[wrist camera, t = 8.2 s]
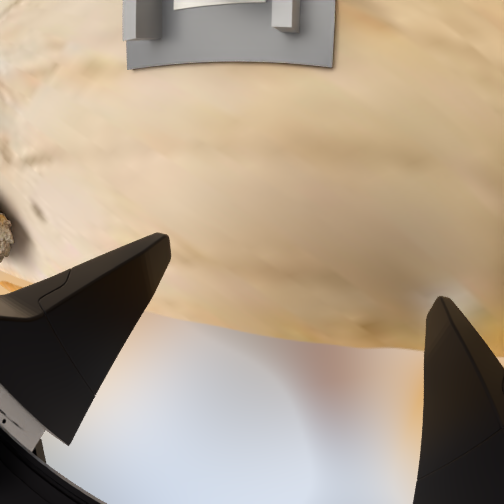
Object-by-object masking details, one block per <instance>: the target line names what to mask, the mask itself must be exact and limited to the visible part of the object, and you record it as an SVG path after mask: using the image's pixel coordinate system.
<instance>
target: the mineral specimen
mask: <svg viewBox="0 0 504 504" xmlns="http://www.w3.org/2000/svg"><path fill="white" fill-rule="evenodd" d="M11 226H12V225H11V222H10V221H9V220H7V219H6V216H5V214H3V213H1V212H0V263H1V262H2V260H3V258H4V256H5V257H7V256H8V255H9V250H10V244H13V243H14V240H13V235H12V233H11V228H10V227H11Z"/></svg>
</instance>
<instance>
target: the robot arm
mask: <svg viewBox="0 0 504 504" xmlns="http://www.w3.org/2000/svg"><path fill="white" fill-rule="evenodd" d="M170 259H171V249H170V240H169V236H168V235H167V234H163V233H154V234H152V235H149V236H147V237H144V238H142V239H139V240H137V241H134V242H132V243H129V244H127V245H124V246H122V247H120V248H117V249H115V250H112V251H110V252H108V253H105V254H103V255H101V256H98V257H96V258H94V259H91V260H89V261H87V262H84V263H82V264H80V265H77V266H75V267H73V268H72V269H68V270H66V271H64V272H62V273H59V274H57V275H55V276H52V277H50V278H47V279H45V280H42V281H40V282H37V283H35V284H32V285H29V286H27V287H24V288H21V289H19V290H16V291H14V292H11V293H9V294H5V295H0V504H107V503H105V502H103V501H101V500H100V499H98V498H96V497H95V496H93V495H91V494H90V493H88V492H86V491H85V490H83V489H82V488H80V487H79V486H77V485H76V484H74V483H73V482H71V481H70V480H68V479H67V478H65V477H64V476H62V475H61V474H60V473H58V472H57V471H55V470H54V469H53V468H51V467H50V466H49V465H47V464H46V460H45V455H44V451H43V445H42V440H41V439H40V438H41V436H42V435H43V433H44V432H45V430H47V431H48V432H49V433H51V434H52V435H53V436H55V437H56V438H58V439H59V440H60V441H62V442H63V443H65V444H66V445H68V446H69V445H70V443H71V442H72V440H73V438H74V436H75V433H76V432H77V430H78V428H79V426H80V424H81V422H82V420H83V418H84V416H85V414H86V412H87V411H88V409H89V407H90V405H91V403H92V401H93V399H94V398H95V395H96V393H97V392H98V390H99V388H100V386H101V384H102V382H103V381H104V379H105V377H106V375H107V373H108V372H109V370H110V368H111V366H112V365H113V363H114V361H115V359H116V358H117V356H118V354H119V352H120V351H121V349H122V347H123V345H124V343H125V342H126V340H127V339H128V337H129V335H130V333H131V332H132V330H133V328H134V327H135V325H136V323H137V322H138V320H139V318H140V317H141V315H142V313H143V312H144V310H145V309H146V307H147V305H148V304H149V302H150V300H151V299H152V297H153V295H154V293H155V291H156V289H157V287H158V285H159V283H160V281H161V279H162V277H163V274H164V272H165V270H166V268H167V266H168V264H169V262H170ZM413 504H504V368H503V366H502V365H501V364H500V363H499V361H498V359H497V358H496V357H495V355H494V354H493V352H492V351H491V350H490V348H489V347H488V346H487V344H486V343H485V341H484V340H483V339H482V337H481V336H480V335H479V334H478V332H477V331H476V330H475V328H474V327H473V326H472V325H471V323H470V322H469V321H468V319H467V318H466V317H465V316H464V314H463V313H462V312H461V311H460V310H459V308H458V307H457V306H456V305H455V303H454V302H453V301H452V300H451V299H450V298H448V297H444V296H439V297H438V298H437V299H436V300H435V302H434V304H433V306H432V308H431V309H430V311H429V313H428V315H427V319H426V336H425V351H424V407H423V427H422V440H421V451H420V461H419V469H418V476H417V482H416V488H415V494H414V500H413Z"/></svg>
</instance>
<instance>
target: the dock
mask: <svg viewBox="0 0 504 504" xmlns="http://www.w3.org/2000/svg"><path fill="white" fill-rule="evenodd" d="M334 26H335V0H123V41H126V46H127V70H129V69H136V68H143V67H151V66H160V65H170V64H182V63H197V62H226V61H248V62H277V63H292V64H304V65H314V66H323V67H331V68H332V62H333V46H334Z"/></svg>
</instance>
